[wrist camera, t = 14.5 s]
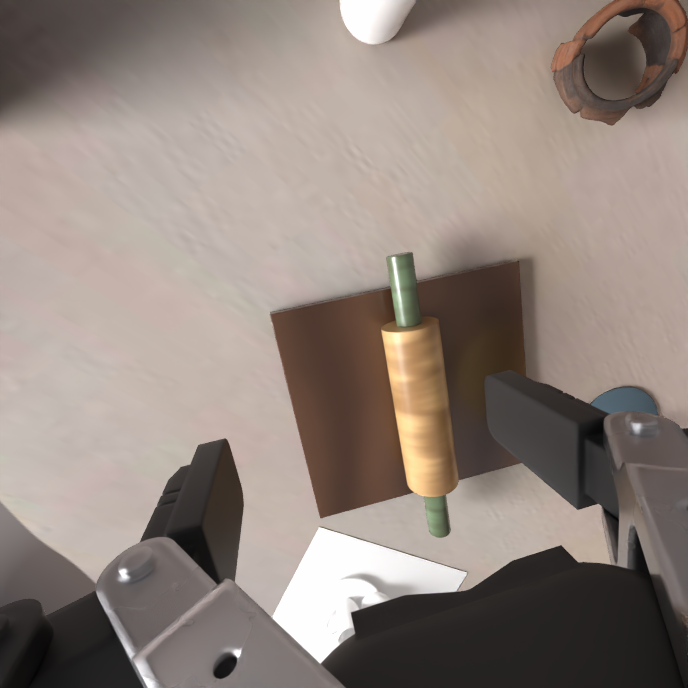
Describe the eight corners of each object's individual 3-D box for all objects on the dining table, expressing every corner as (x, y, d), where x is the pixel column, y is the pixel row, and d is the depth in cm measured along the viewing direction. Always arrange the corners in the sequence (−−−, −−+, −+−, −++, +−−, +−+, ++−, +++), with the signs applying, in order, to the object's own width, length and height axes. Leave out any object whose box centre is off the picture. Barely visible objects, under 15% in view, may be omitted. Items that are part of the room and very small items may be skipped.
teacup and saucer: (397, 585, 44) (408, 618, 40) (367, 637, 45) (374, 674, 41) (330, 566, 41) (335, 599, 38) (301, 621, 43) (302, 659, 39)
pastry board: (319, 510, 40) (320, 518, 38) (270, 312, 34) (269, 314, 33) (524, 454, 42) (531, 460, 41) (511, 260, 36) (519, 260, 35)
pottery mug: (636, 130, 36) (673, 125, 29) (531, 126, 38) (541, 120, 31) (700, -41, 30) (765, -100, 23) (571, -33, 32) (594, -83, 25)
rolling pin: (408, 519, 40) (425, 555, 35) (363, 259, 33) (377, 261, 28) (451, 506, 41) (474, 540, 36) (417, 249, 33) (439, 248, 28)
